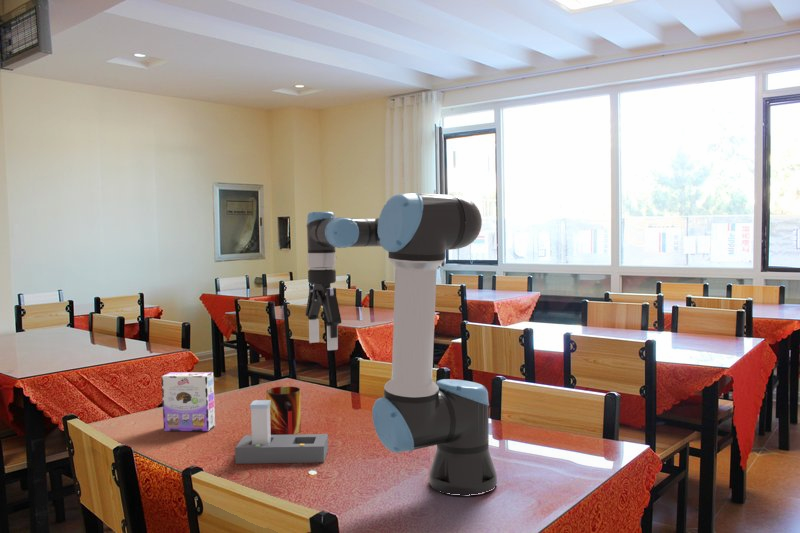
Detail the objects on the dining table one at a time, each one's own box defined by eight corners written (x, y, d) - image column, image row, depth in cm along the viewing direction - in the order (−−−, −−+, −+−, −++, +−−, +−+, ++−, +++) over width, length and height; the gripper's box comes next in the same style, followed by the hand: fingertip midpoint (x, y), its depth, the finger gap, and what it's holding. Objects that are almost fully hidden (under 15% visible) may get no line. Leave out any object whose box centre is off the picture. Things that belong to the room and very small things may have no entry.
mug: (290, 441, 175) (289, 398, 174) (260, 431, 184) (259, 390, 184) (317, 433, 182) (316, 391, 181) (287, 424, 191) (286, 384, 191)
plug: (268, 459, 161) (267, 404, 160) (251, 459, 161) (249, 404, 160) (272, 453, 165) (270, 400, 165) (255, 453, 165) (253, 400, 165)
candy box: (216, 426, 190) (214, 371, 190) (208, 432, 184) (206, 375, 184) (171, 425, 192) (170, 371, 191) (162, 431, 186) (160, 375, 185)
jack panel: (324, 462, 158) (323, 445, 158) (235, 463, 158) (235, 446, 158) (328, 448, 168) (327, 432, 168) (244, 450, 168) (244, 434, 168)
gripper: (353, 270, 164) (354, 351, 165) (318, 266, 186) (319, 338, 187) (326, 271, 161) (327, 354, 162) (293, 267, 183) (295, 340, 184)
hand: (323, 346), depth 174 cm, fingers open, 13 cm apart
